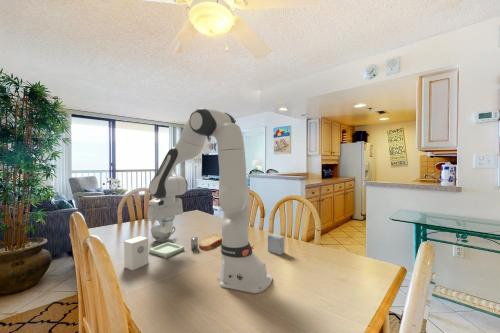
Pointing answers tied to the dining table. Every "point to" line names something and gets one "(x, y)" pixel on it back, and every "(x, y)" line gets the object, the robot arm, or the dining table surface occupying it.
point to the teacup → (160, 234)
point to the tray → (166, 249)
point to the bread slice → (210, 242)
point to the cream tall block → (136, 252)
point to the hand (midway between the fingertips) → (166, 225)
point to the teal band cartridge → (167, 225)
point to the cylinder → (194, 243)
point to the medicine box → (276, 244)
